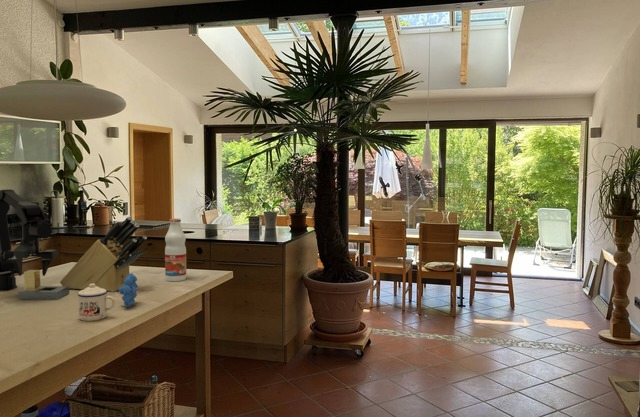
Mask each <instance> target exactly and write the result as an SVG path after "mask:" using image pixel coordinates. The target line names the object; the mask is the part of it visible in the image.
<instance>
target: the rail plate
mask: <svg viewBox="0 0 640 417" xmlns="http://www.w3.org/2000/svg"><path fill="white" fill-rule="evenodd" d="M70 291H71V290H70V289H69V286H62V285H40V288H37V289H35V290H25V288H23V289H22V290H20V291H18V292H17V298H18V300H19V301H20V300H31V301H32V300H33V301H35V300H38V301H39V300H41V301H42V300H43V301H45V300H46V301H49V300H53V301H54V300H55V301H56V300H59V299H62V298H63V297H65V296H68V295H69V294H70Z"/></svg>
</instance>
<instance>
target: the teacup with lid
mask: <svg viewBox="0 0 640 417" xmlns="http://www.w3.org/2000/svg"><path fill="white" fill-rule="evenodd" d="M107 293H108V291H106V290H105V289H103V288H99V287H97V286H95V284H89V287H87V288H85V289H80V291H78V292H77V296H78V319H79V320H80V321H85V322H91V321H92V322H93V321H99V320H102V319H104V318H106V317H107V316H108V315H107V314H108V311H111V310H113V309H114V307H115V305H116V299H115V297H113V296H112V295H107ZM107 299H109V300H111V301H112V305H111V306H110V307H109V308H107Z"/></svg>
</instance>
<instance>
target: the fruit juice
mask: <svg viewBox="0 0 640 417" xmlns="http://www.w3.org/2000/svg"><path fill="white" fill-rule="evenodd" d="M169 224H170V225H169V227H168V231H166V232H167V233H166V234H165V238H164V241H165V248H164V271H165V272H164V273H165V274H164V275H165V276H164V277H165V280H166V281H168V282H181V281H185V280H186V279H187V247H186V239H187V238H186V237H187V236H186V234H185V232H184V230H183V228H182V226H181V218H169Z"/></svg>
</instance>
